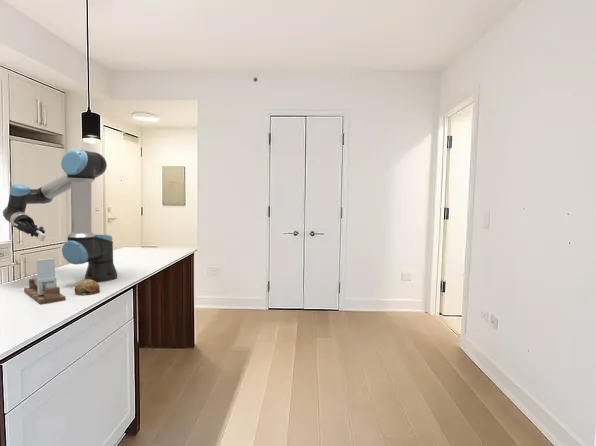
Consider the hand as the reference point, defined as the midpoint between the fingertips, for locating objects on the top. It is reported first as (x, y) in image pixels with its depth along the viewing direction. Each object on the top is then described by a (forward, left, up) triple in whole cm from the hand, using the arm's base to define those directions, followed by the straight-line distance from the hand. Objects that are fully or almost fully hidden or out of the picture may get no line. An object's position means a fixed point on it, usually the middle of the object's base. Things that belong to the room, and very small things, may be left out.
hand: (42, 238), depth 179 cm
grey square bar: (-2, +10, -20) cm, 23 cm away
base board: (-2, +10, -24) cm, 26 cm away
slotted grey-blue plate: (-4, +15, -22) cm, 27 cm away
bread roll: (-18, +9, -25) cm, 32 cm away
